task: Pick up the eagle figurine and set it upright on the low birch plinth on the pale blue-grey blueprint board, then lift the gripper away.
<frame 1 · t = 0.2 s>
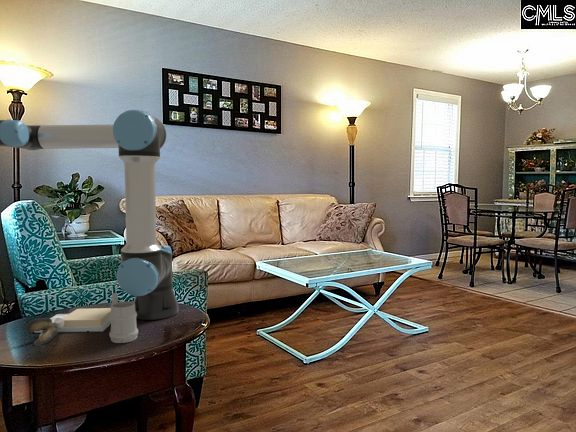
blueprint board: (79, 324, 137), on the table
mug: (121, 337, 125), on the table
eagle figurine: (45, 339, 124), on the table
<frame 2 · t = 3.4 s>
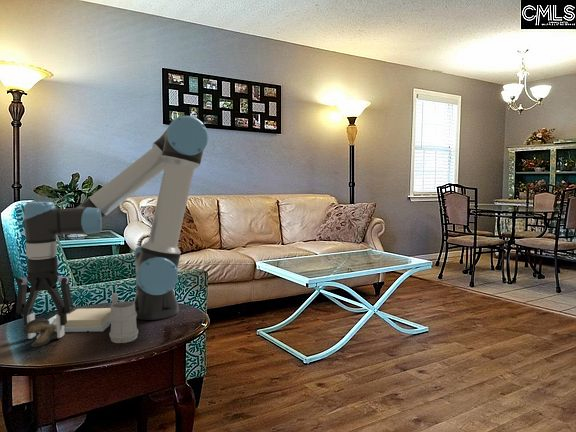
hand: (46, 336, 124), 1 cm above the table, fingers open, 7 cm apart
eagle figurine: (43, 341, 123), on the table, touching gripper
everything else where it was.
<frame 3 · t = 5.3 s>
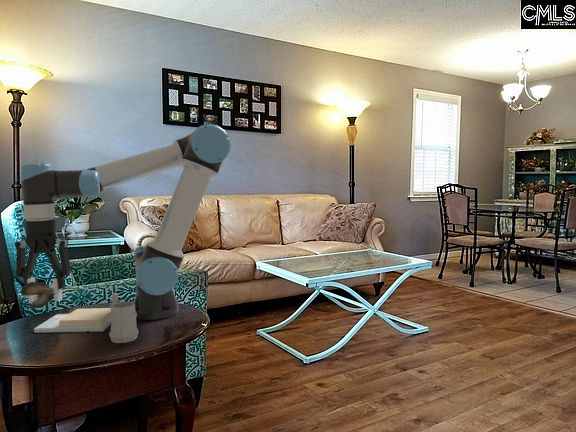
hand: (45, 300, 124), 11 cm above the table, fingers closed on eagle figurine, 7 cm apart
eagle figurine: (41, 304, 122), point 10 cm above the table, touching gripper
everything else where it was.
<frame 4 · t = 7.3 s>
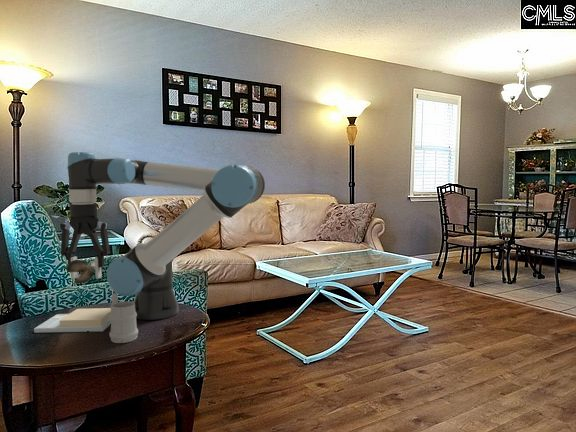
hand: (86, 277, 135), 15 cm above the table, fingers closed on eagle figurine, 7 cm apart
eagle figurine: (83, 280, 134), point 14 cm above the table, touching gripper
everything else where it was.
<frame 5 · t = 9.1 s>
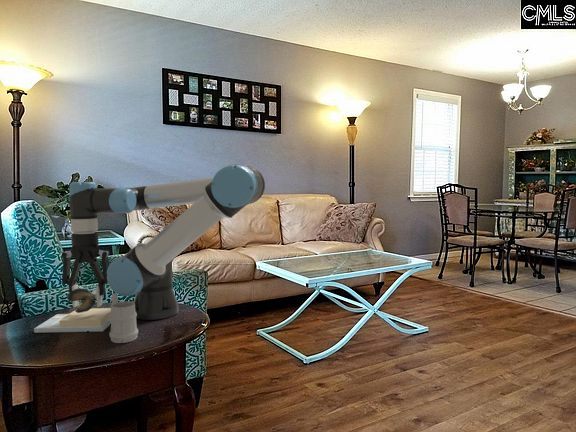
hand: (87, 305, 136), 6 cm above the table, fingers closed on eagle figurine, 7 cm apart
eagle figurine: (84, 308, 135), point 5 cm above the table, touching gripper
everything else where it was.
when the fingers open (5 cm above the table, at t = 10.7 s): eagle figurine drops 1 cm, resting on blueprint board.
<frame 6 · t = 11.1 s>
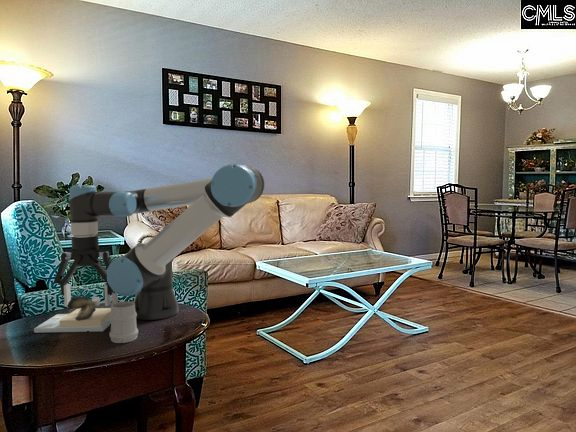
hand: (87, 305, 136), 6 cm above the table, fingers open, 11 cm apart
eagle figurine: (84, 316, 135), point 3 cm above the table, touching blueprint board
everything else where it was.
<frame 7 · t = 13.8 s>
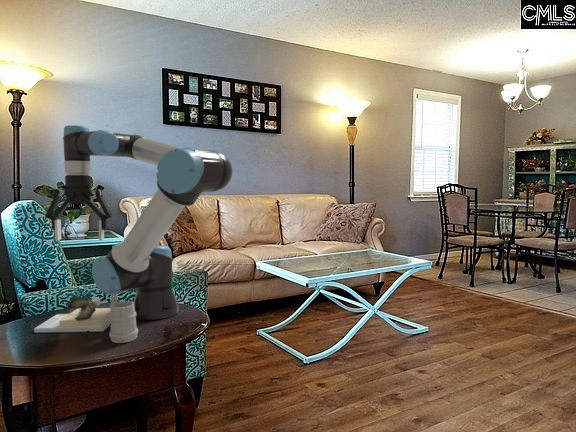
hand: (80, 239, 143), 25 cm above the table, fingers open, 13 cm apart
nothing on the table moved.
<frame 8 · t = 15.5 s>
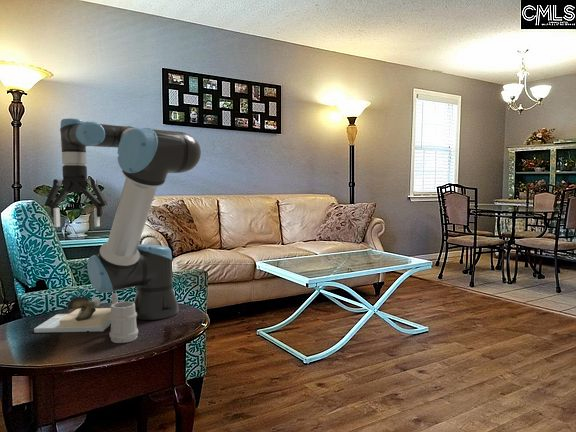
hand: (77, 226, 152), 29 cm above the table, fingers open, 13 cm apart
nothing on the table moved.
at the end: eagle figurine inside the target area (2.2 cm from its centre), point 3.0 cm above the table; eagle figurine tilted 0°; the gripper is holding nothing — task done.
